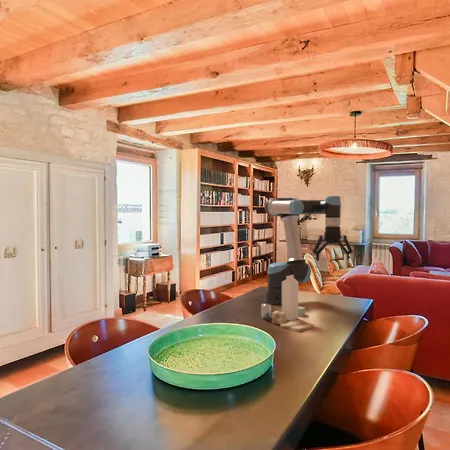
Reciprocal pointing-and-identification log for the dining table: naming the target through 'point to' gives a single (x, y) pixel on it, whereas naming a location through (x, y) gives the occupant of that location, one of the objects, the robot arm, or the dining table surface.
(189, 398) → the dining table surface
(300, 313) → the sage block
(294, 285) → the milk
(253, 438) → the dining table surface
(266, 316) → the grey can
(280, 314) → the beech cube
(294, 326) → the plate
